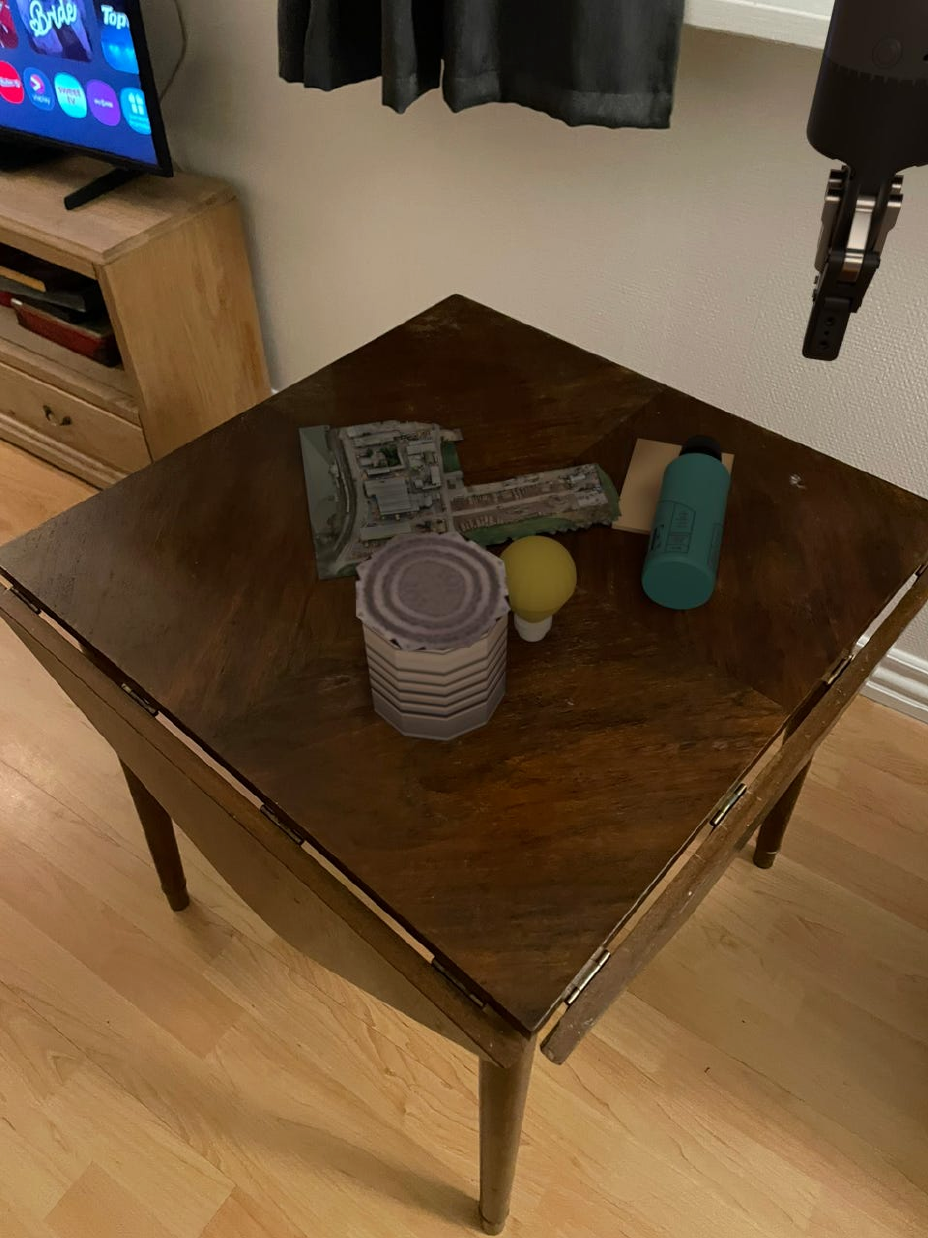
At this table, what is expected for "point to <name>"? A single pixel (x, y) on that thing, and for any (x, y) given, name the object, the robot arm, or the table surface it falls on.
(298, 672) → the table surface
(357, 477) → the model
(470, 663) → the can
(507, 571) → the light bulb
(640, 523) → the mat
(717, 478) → the beverage bottle
